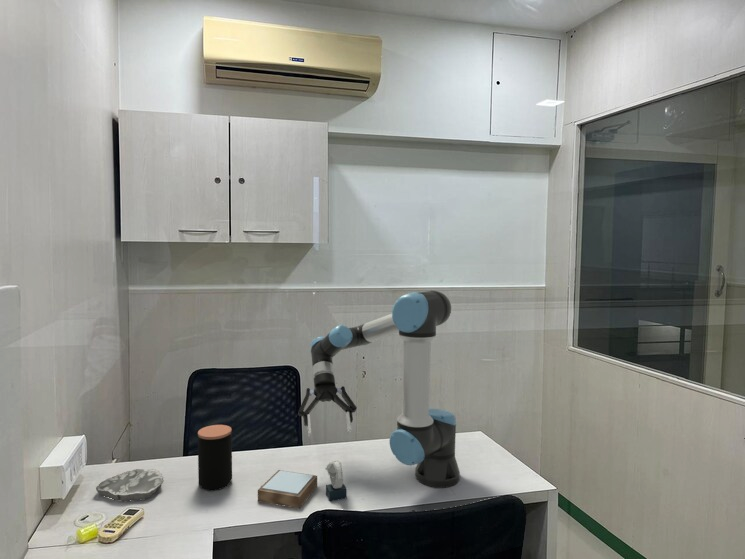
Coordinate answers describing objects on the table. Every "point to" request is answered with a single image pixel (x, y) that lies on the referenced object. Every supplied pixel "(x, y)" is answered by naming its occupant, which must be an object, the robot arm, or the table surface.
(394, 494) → the table surface
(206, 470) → the coffee jar
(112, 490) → the brain slice
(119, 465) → the table surface
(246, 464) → the table surface
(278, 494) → the walnut plinth
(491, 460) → the table surface
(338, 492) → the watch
